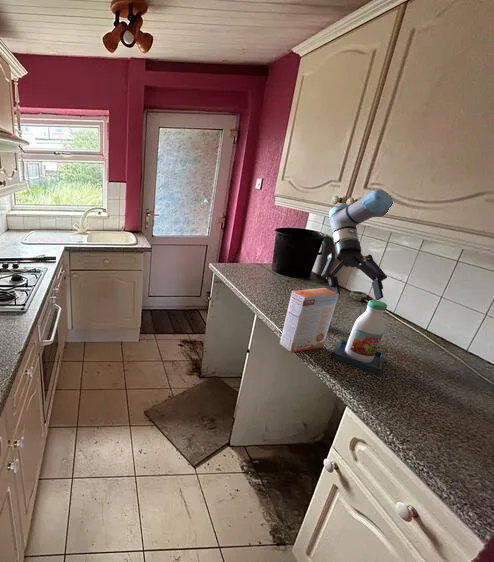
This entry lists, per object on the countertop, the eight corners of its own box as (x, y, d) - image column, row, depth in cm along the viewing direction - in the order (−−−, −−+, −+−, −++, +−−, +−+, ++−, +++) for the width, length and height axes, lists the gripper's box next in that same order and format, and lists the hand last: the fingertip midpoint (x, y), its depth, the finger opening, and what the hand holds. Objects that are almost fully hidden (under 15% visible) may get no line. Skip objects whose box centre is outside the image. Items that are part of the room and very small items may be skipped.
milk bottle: (338, 352, 106) (357, 299, 98) (353, 348, 108) (373, 296, 101) (362, 365, 99) (383, 309, 92) (377, 360, 102) (400, 306, 94)
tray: (382, 357, 104) (384, 352, 104) (379, 374, 96) (381, 369, 95) (339, 343, 112) (340, 338, 111) (332, 358, 103) (334, 352, 103)
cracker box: (309, 339, 114) (325, 286, 106) (323, 348, 109) (340, 293, 101) (277, 343, 111) (291, 289, 103) (290, 353, 105) (306, 297, 98)
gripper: (316, 236, 112) (325, 289, 104) (390, 240, 110) (406, 295, 101) (306, 246, 119) (313, 297, 111) (376, 250, 117) (389, 303, 108)
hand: (358, 297), depth 106 cm, fingers open, 13 cm apart
